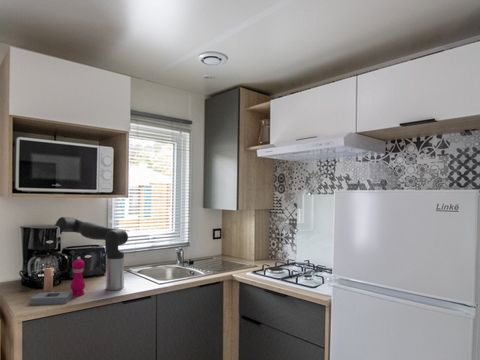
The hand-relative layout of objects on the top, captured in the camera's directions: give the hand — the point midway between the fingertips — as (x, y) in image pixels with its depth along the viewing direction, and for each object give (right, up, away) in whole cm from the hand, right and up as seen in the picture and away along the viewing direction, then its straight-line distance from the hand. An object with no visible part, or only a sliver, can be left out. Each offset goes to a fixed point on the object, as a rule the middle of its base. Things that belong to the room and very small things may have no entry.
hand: (46, 275), depth 189 cm
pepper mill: (+21, -8, -8) cm, 24 cm away
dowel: (+6, -8, -9) cm, 14 cm away
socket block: (+14, -7, -19) cm, 25 cm away
